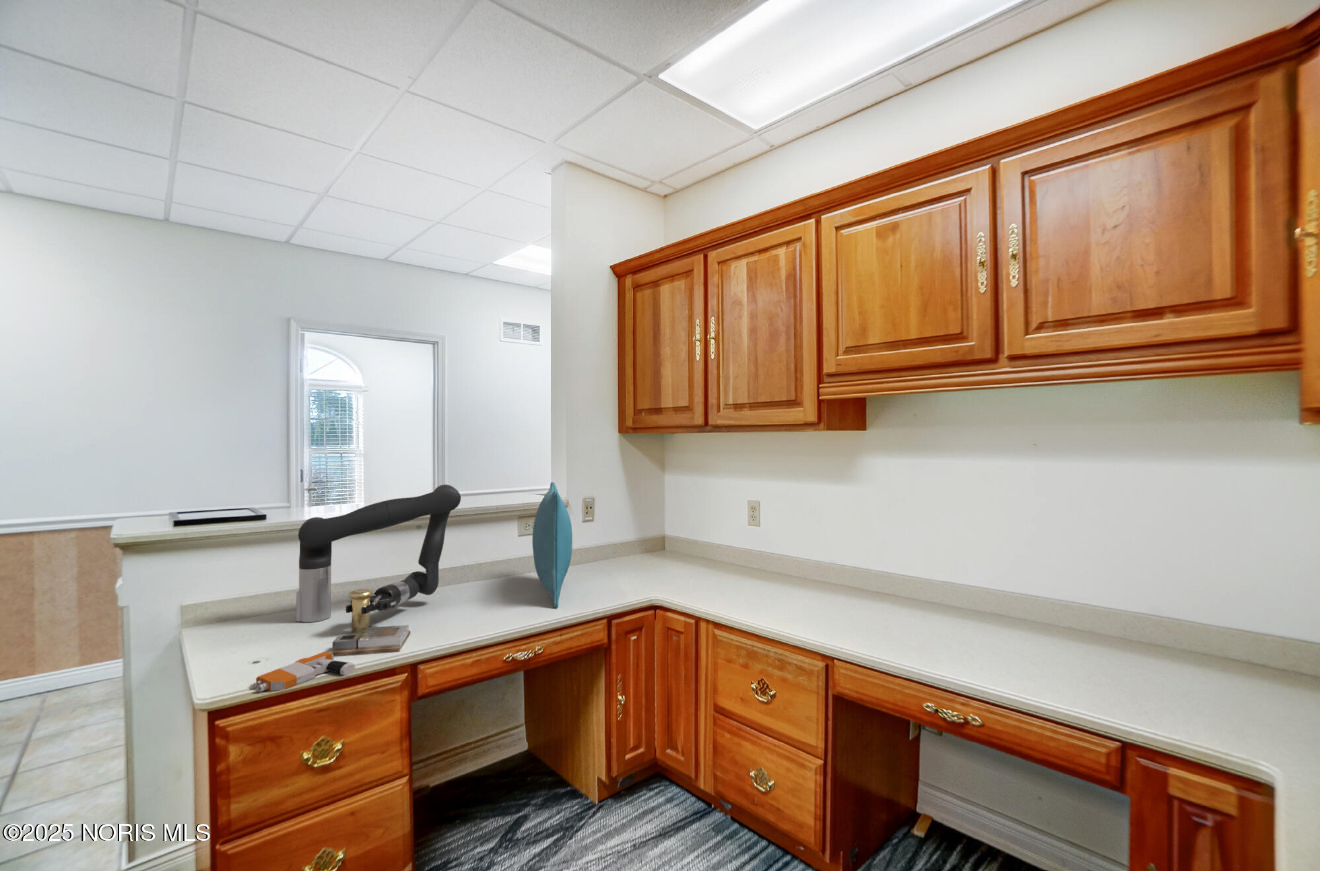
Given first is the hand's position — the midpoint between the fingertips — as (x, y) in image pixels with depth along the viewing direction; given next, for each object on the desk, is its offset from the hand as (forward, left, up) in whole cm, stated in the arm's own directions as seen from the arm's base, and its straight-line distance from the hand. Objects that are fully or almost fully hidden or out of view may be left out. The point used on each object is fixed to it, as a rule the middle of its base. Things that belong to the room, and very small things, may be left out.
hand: (354, 610), depth 176 cm
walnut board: (+7, -10, -8) cm, 14 cm away
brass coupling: (+1, +2, -7) cm, 7 cm away
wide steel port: (+11, -10, -8) cm, 17 cm away
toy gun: (-3, -32, -8) cm, 33 cm away
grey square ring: (+2, -13, -8) cm, 15 cm away
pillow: (+60, +36, -8) cm, 71 cm away
